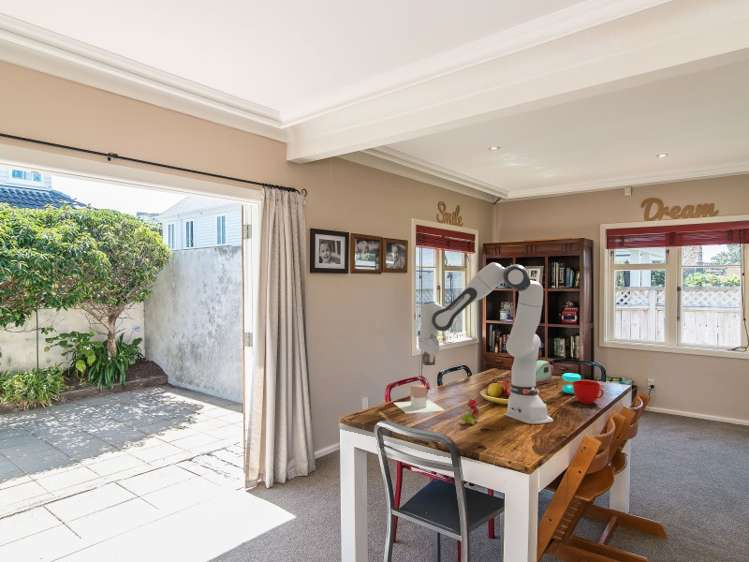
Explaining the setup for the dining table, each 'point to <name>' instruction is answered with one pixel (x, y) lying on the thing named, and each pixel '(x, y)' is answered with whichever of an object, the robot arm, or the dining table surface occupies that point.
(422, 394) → the block
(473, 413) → the bird rattle
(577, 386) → the ceramic cup
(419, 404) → the block
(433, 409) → the baseplate
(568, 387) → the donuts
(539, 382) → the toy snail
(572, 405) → the dining table surface
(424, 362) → the walnut cube
